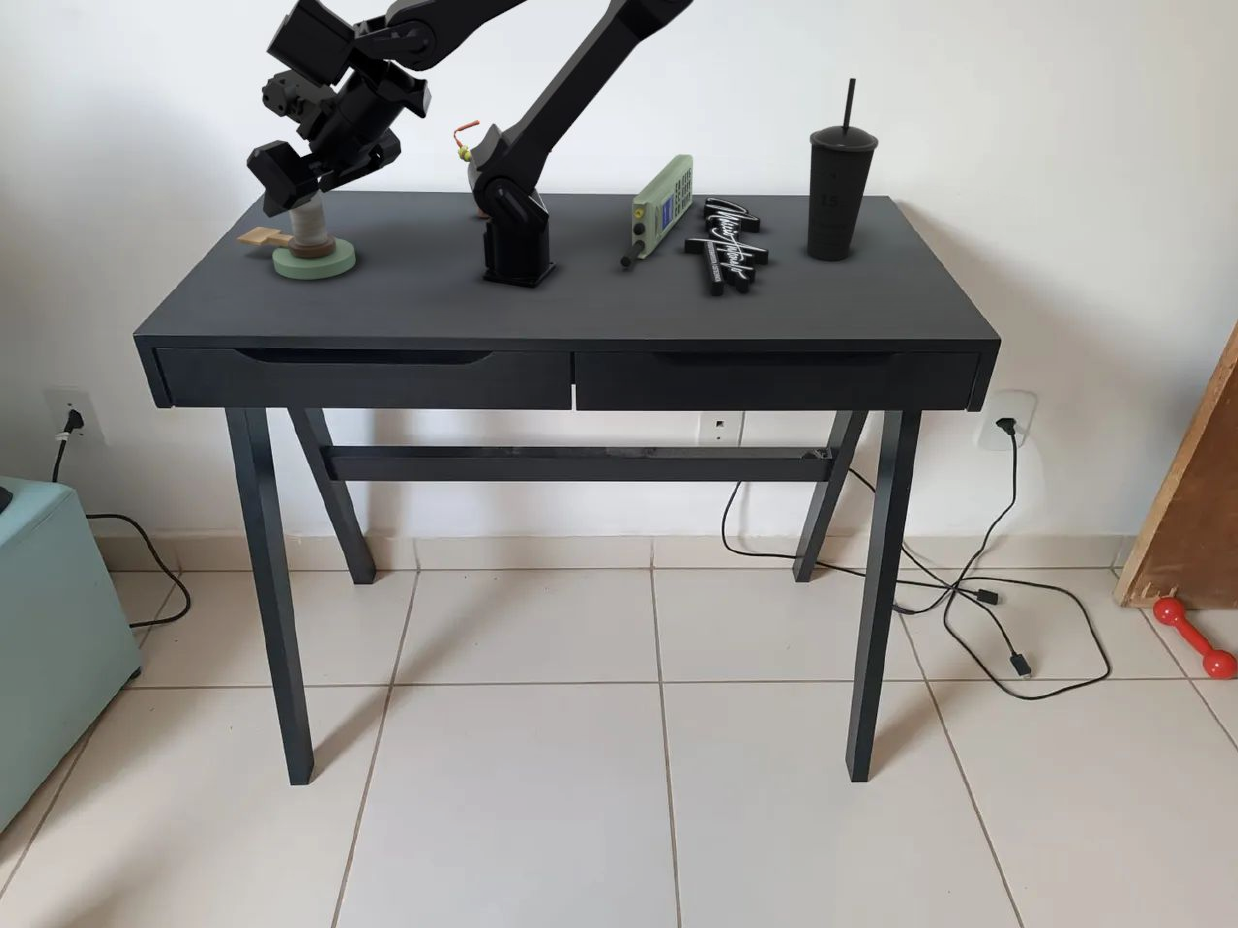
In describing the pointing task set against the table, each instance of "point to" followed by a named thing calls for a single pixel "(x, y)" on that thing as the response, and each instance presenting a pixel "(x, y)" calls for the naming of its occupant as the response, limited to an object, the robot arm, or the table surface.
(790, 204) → the table surface
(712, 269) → the nameplate
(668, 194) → the handheld radio
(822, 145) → the drinking cup
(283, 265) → the stand
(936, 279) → the table surface
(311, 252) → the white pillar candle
